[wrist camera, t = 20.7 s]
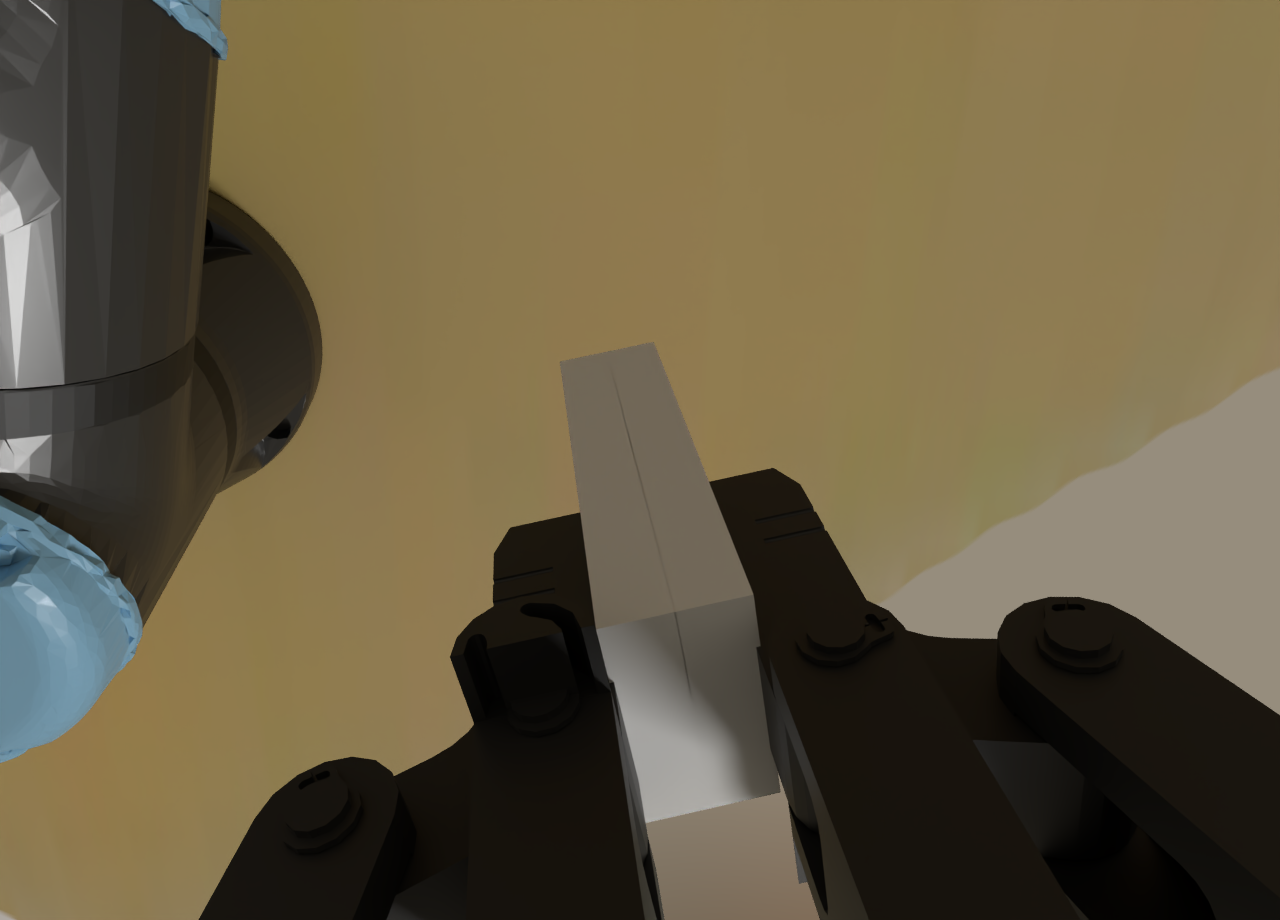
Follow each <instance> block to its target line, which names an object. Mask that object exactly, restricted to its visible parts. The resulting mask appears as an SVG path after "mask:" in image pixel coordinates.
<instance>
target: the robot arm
mask: <svg viewBox="0 0 1280 920" xmlns="http://www.w3.org/2000/svg"><path fill="white" fill-rule="evenodd" d="M220 15H221V0H0V763H1V762H4V761H7V760H10V759H13V758H16V757H18V756H20V755H21V754H23V753H25V752H26V751H27V750H28V749H30V748H33V747H37V746H40V745H43V744H46V743H49V742H52V741H53V740H55V739H57V738H58V737H60V736H61V735H63V734H64V733H65V732H67V731H68V730H69V729H70V728H72V727H73V726H74V725H75V724H76V723H78V722H79V721H80V720H81V719H82V718H83V716H84V715H85V714H86V713H87V712H88V711H89V710H90V709H91V707H92V706H93V705H94V704H95V702H96V701H97V699H98V698H99V696H100V695H101V694H102V692H103V691H104V689H105V688H106V687H107V685H108V684H109V683H110V681H111V680H112V679H113V677H114V676H115V675H116V674H117V672H119V671H120V670H122V669H123V668H124V667H125V665H126V664H127V662H129V661H130V660H131V659H132V658H133V656H134V655H135V652H136V647H137V644H138V643H139V642H140V639H141V637H142V629H143V627H144V625H145V623H146V621H147V619H148V618H149V616H150V614H151V612H152V610H153V609H154V607H155V605H156V603H157V601H158V600H159V598H160V596H161V594H162V592H163V590H164V589H165V587H166V585H167V583H168V581H169V580H170V578H171V576H172V574H173V572H174V571H175V569H176V567H177V565H178V563H179V561H180V560H181V558H182V556H183V554H184V552H185V551H186V549H187V547H188V545H189V543H190V541H191V540H192V538H193V536H194V534H195V532H196V531H197V529H198V527H199V525H200V523H201V522H202V520H203V518H204V516H205V514H206V512H207V511H208V509H209V507H210V505H211V503H212V502H213V500H214V498H215V496H216V494H218V493H220V492H222V491H223V490H225V489H227V488H229V487H231V486H233V485H234V484H236V483H238V482H240V481H242V480H244V479H245V478H247V477H249V476H251V475H252V474H254V473H256V472H257V471H259V470H260V469H261V468H263V467H264V466H265V465H267V464H268V463H269V462H270V461H272V460H273V459H274V458H275V457H276V456H277V455H278V454H279V453H280V452H281V451H282V450H283V449H284V447H285V446H286V445H287V444H288V443H289V442H290V440H291V439H292V438H293V436H294V435H295V433H296V432H297V430H298V428H299V427H300V425H301V423H302V421H303V419H304V417H305V415H306V413H307V411H308V409H309V406H310V404H311V402H312V400H313V397H314V395H315V392H316V389H317V386H318V382H319V378H320V373H321V365H322V338H321V331H320V325H319V321H318V316H317V313H316V310H315V306H314V303H313V301H312V298H311V296H310V293H309V291H308V289H307V287H306V285H305V283H304V281H303V279H302V277H301V276H300V274H299V272H298V270H297V269H296V267H295V266H294V264H293V263H292V261H291V260H290V258H289V257H288V256H287V255H286V253H285V252H284V251H283V249H282V248H281V247H280V246H279V245H278V244H277V243H276V241H275V240H274V239H273V238H272V237H271V236H270V235H269V234H268V233H267V232H266V231H265V230H264V229H263V228H262V227H261V226H259V225H258V224H257V223H256V222H255V221H254V220H253V219H251V218H250V217H249V216H247V215H246V214H245V213H244V212H242V211H241V210H239V209H238V208H237V207H235V206H234V205H232V204H231V203H229V202H227V201H226V200H224V199H222V198H221V197H219V196H217V195H215V194H213V193H211V192H209V191H208V190H209V177H210V164H211V151H212V138H213V125H214V112H215V99H216V86H217V73H218V60H226V58H227V51H228V44H227V38H226V37H225V35H224V34H223V32H222V31H221V29H220ZM560 366H561V373H562V381H563V388H564V395H565V403H566V410H567V418H568V425H569V433H570V440H571V447H572V455H573V462H574V470H575V477H576V485H577V492H578V499H579V507H580V513H576V514H571V515H566V516H562V517H557V518H553V519H548V520H543V521H539V522H534V523H529V524H525V525H520V526H516V527H511V528H510V529H509V530H508V532H507V534H506V535H505V537H504V538H503V540H502V542H501V543H500V545H499V546H498V548H497V550H496V551H495V553H494V574H493V580H494V585H493V604H494V606H493V607H492V608H490V609H489V610H487V611H486V612H484V613H483V614H481V615H479V616H478V617H476V618H475V619H473V620H472V621H471V622H470V623H469V625H468V626H467V627H466V628H465V629H464V630H463V631H462V632H461V634H460V635H459V636H458V637H457V639H456V641H455V644H454V647H453V650H452V653H451V656H450V658H451V661H452V664H453V667H454V669H455V672H456V675H457V678H458V680H459V683H460V686H461V689H462V691H463V694H464V697H465V700H466V702H467V705H468V708H469V711H470V713H471V716H472V719H473V722H474V725H473V727H472V728H471V729H470V730H469V732H468V733H466V734H465V735H464V736H463V737H462V738H460V739H459V740H458V741H457V742H456V743H455V744H453V745H452V746H451V747H449V748H447V749H446V750H444V751H442V752H441V753H439V754H437V755H436V756H434V757H432V758H430V759H428V760H426V761H424V762H422V763H420V764H418V765H416V766H414V767H412V768H410V769H408V770H406V771H404V772H402V773H400V774H398V775H396V776H393V773H392V772H391V771H390V770H388V769H387V768H386V767H384V766H383V765H381V764H380V763H379V762H377V761H376V760H371V759H364V758H357V757H349V758H343V759H338V760H333V761H328V762H324V763H322V764H320V765H318V766H316V767H314V768H312V769H309V770H307V771H305V772H303V773H301V774H299V775H297V776H296V777H295V778H293V779H292V780H291V781H290V782H288V783H287V784H286V785H285V786H283V787H282V788H281V789H280V790H278V791H277V792H276V793H275V794H273V795H272V797H271V798H270V799H269V801H268V802H267V803H266V804H265V806H264V807H263V808H262V810H261V811H260V812H259V814H258V815H257V816H256V818H255V819H254V821H253V823H252V824H251V826H250V828H249V830H248V832H247V833H246V835H245V837H244V839H243V841H242V842H241V844H240V846H239V848H238V850H237V851H236V853H235V855H234V857H233V859H232V860H231V862H230V864H229V866H228V868H227V869H226V871H225V873H224V875H223V877H222V878H221V880H220V882H219V884H218V886H217V887H216V889H215V891H214V893H213V895H212V897H211V898H210V900H209V902H208V904H207V906H206V907H205V909H204V911H203V913H202V915H201V916H200V918H199V920H664V914H663V909H662V903H661V897H660V890H659V885H658V878H657V873H656V867H655V863H654V859H653V856H652V852H651V848H650V844H649V840H648V835H647V829H646V823H648V822H652V821H656V820H661V819H665V818H670V817H674V816H679V815H683V814H687V813H691V812H696V811H701V810H705V809H709V808H713V807H718V806H723V805H727V804H731V803H736V802H740V801H744V800H749V799H753V798H757V797H762V796H766V795H771V794H775V793H780V785H779V778H778V773H779V776H780V779H781V782H782V785H783V788H784V791H785V794H786V797H787V799H788V804H789V812H790V819H791V826H792V834H793V841H794V849H795V856H796V864H797V872H798V880H799V883H804V882H808V885H809V888H810V890H811V894H812V897H813V900H814V903H815V906H816V909H817V912H818V915H819V918H820V920H1280V715H1279V714H1277V713H1276V712H1274V711H1273V710H1271V709H1270V708H1268V707H1267V706H1265V705H1264V704H1263V703H1261V702H1260V701H1258V700H1257V699H1255V698H1254V697H1252V696H1251V695H1249V694H1248V693H1246V692H1245V691H1243V690H1242V689H1240V688H1239V687H1237V686H1236V685H1235V684H1233V683H1232V682H1230V681H1229V680H1227V679H1226V678H1224V677H1223V676H1221V675H1220V674H1218V673H1217V672H1216V671H1214V670H1212V669H1211V668H1209V667H1208V666H1207V665H1205V664H1204V663H1202V662H1201V661H1199V660H1198V659H1196V658H1195V657H1193V656H1192V655H1190V654H1189V653H1188V652H1186V651H1185V650H1183V649H1182V648H1180V647H1179V646H1177V645H1176V644H1174V643H1173V642H1171V641H1170V640H1168V639H1167V638H1165V637H1164V636H1163V635H1161V634H1160V633H1158V632H1157V631H1155V630H1154V629H1152V628H1151V627H1149V626H1148V625H1146V624H1145V623H1144V622H1142V621H1141V620H1139V619H1137V618H1136V617H1134V616H1132V615H1130V614H1128V613H1126V612H1124V611H1122V610H1120V609H1118V608H1116V607H1114V606H1112V605H1110V604H1107V603H1102V602H1098V601H1094V600H1090V599H1085V598H1081V597H1048V598H1044V599H1040V600H1036V601H1032V602H1028V603H1024V604H1023V605H1022V606H1020V607H1018V608H1017V609H1016V610H1014V611H1012V612H1011V613H1009V614H1008V615H1007V616H1006V617H1005V619H1004V621H1003V623H1002V625H1001V627H1000V629H999V631H998V638H997V639H968V638H943V637H933V636H926V635H923V634H918V633H915V632H911V631H907V630H906V629H905V627H904V626H903V625H902V624H901V623H900V622H899V621H898V620H897V619H896V618H895V617H894V616H893V615H892V613H891V612H889V611H888V610H886V609H884V608H882V607H880V606H878V605H876V604H873V603H871V602H869V601H867V600H866V598H865V597H864V595H863V593H862V592H861V590H860V588H859V586H858V585H857V583H856V581H855V579H854V578H853V576H852V574H851V572H850V571H849V569H848V567H847V565H846V564H845V562H844V560H843V558H842V557H841V555H840V553H839V551H838V550H837V548H836V546H835V544H834V543H833V541H832V539H831V537H830V536H829V534H828V532H827V531H825V529H824V525H823V523H822V522H821V520H820V518H819V516H818V515H817V513H816V512H814V509H813V506H812V504H811V502H810V501H809V499H808V497H807V495H806V494H805V492H804V490H803V488H802V487H801V485H800V484H799V483H797V482H796V481H794V480H792V479H791V478H789V477H787V476H786V475H784V474H783V473H781V472H779V471H778V470H776V469H774V468H771V469H766V470H762V471H757V472H752V473H748V474H743V475H739V476H734V477H729V478H725V479H720V480H715V481H711V482H709V481H708V478H707V476H706V473H705V471H704V468H703V466H702V463H701V461H700V458H699V456H698V453H697V451H696V448H695V446H694V443H693V441H692V438H691V435H690V433H689V430H688V428H687V425H686V423H685V420H684V418H683V415H682V413H681V410H680V408H679V405H678V403H677V400H676V398H675V395H674V393H673V390H672V387H671V385H670V382H669V380H668V377H667V375H666V372H665V370H664V367H663V365H662V362H661V360H660V357H659V355H658V352H657V350H656V347H655V344H654V342H651V343H646V344H642V345H637V346H632V347H627V348H623V349H618V350H613V351H608V352H604V353H599V354H594V355H589V356H585V357H580V358H575V359H570V360H566V361H561V362H560Z"/></svg>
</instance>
